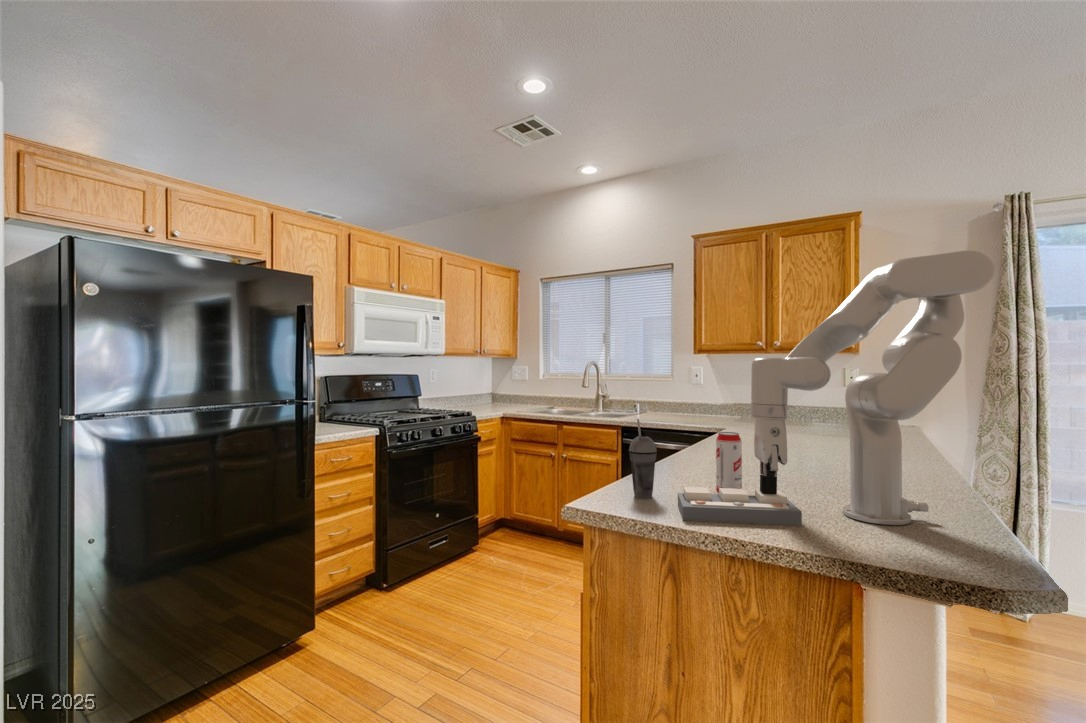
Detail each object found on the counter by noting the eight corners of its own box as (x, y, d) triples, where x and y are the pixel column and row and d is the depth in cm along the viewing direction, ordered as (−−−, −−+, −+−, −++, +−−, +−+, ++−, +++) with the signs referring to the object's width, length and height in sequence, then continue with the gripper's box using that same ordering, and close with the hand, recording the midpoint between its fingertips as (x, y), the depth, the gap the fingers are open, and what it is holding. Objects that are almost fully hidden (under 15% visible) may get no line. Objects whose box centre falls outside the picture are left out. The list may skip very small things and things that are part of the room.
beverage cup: (660, 500, 125) (659, 420, 125) (631, 500, 125) (630, 420, 125) (654, 492, 132) (653, 417, 132) (626, 492, 132) (626, 417, 132)
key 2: (779, 504, 115) (779, 490, 115) (787, 510, 110) (787, 496, 110) (755, 503, 116) (755, 490, 116) (761, 509, 111) (760, 495, 111)
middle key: (743, 501, 116) (743, 488, 116) (748, 508, 111) (748, 494, 111) (719, 500, 117) (718, 487, 117) (723, 507, 112) (723, 493, 112)
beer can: (744, 493, 130) (743, 432, 131) (739, 499, 125) (738, 435, 125) (719, 490, 134) (719, 431, 134) (713, 496, 129) (713, 433, 129)
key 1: (707, 500, 118) (707, 487, 118) (711, 506, 112) (711, 493, 112) (683, 499, 119) (683, 486, 119) (686, 505, 113) (686, 492, 113)
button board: (784, 509, 116) (784, 494, 116) (801, 525, 104) (801, 509, 104) (677, 505, 120) (677, 490, 120) (682, 520, 108) (682, 504, 108)
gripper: (797, 415, 105) (796, 503, 105) (777, 409, 120) (776, 486, 120) (759, 414, 106) (759, 501, 106) (744, 408, 121) (743, 484, 121)
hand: (768, 493), depth 113 cm, fingers closed
